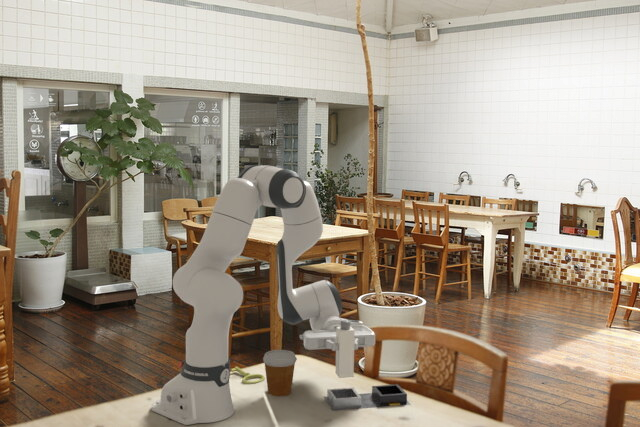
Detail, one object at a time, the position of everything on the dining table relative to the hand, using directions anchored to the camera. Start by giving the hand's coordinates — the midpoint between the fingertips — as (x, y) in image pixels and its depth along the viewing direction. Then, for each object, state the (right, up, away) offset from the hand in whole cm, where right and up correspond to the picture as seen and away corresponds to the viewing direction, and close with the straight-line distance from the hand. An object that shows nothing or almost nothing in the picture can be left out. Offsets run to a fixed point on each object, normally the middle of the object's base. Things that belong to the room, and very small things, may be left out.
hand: (345, 347), depth 187 cm
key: (-29, -14, +24) cm, 40 cm away
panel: (+6, -16, +4) cm, 18 cm away
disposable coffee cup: (-19, -16, +10) cm, 26 cm away
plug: (0, -8, +2) cm, 8 cm away
